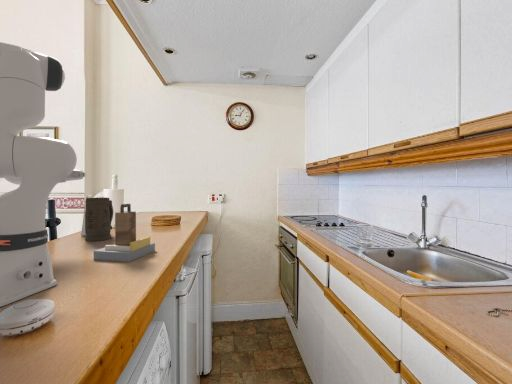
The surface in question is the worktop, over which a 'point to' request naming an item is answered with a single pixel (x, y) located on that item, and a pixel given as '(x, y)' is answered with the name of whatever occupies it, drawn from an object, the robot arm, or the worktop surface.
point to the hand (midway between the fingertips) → (74, 174)
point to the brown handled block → (125, 226)
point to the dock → (125, 251)
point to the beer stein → (98, 219)
